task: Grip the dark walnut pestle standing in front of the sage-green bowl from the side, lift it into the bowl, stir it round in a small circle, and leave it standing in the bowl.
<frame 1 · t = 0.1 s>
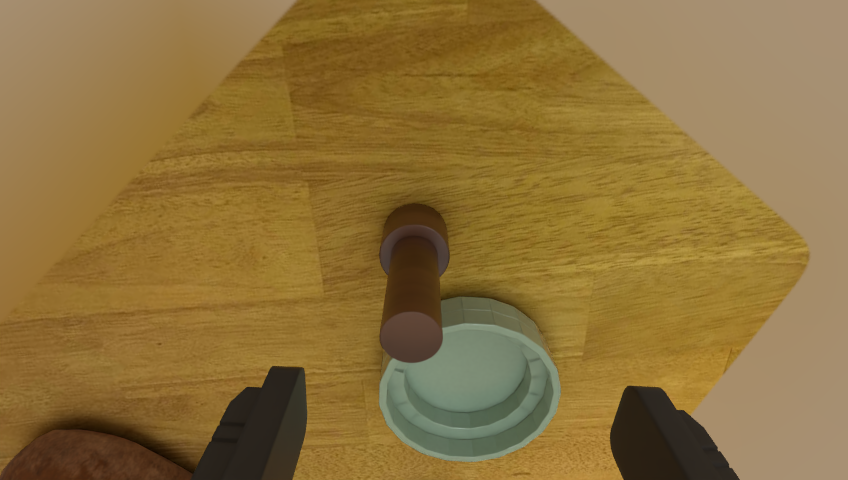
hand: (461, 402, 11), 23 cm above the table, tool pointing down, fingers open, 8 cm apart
pestle: (415, 232, 35), on the table
bowl: (464, 360, 40), on the table
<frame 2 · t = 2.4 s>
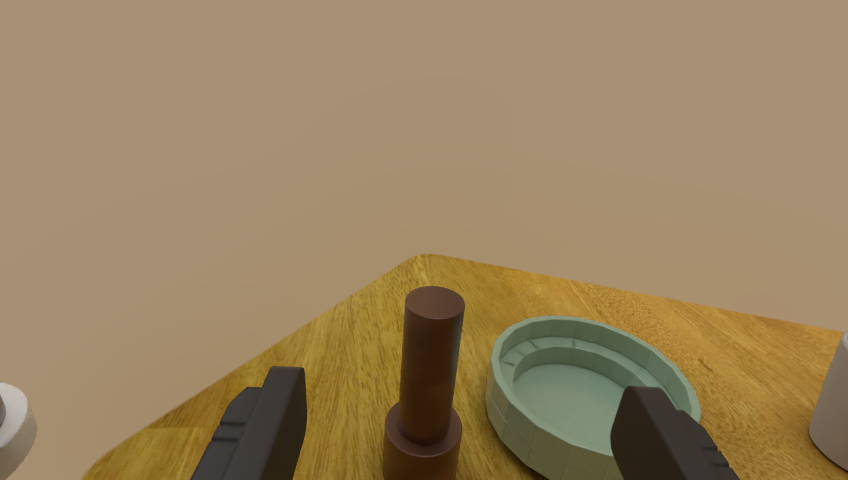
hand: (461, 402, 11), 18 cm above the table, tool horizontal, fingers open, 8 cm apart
pestle: (419, 468, 30), on the table
bowl: (577, 418, 35), on the table
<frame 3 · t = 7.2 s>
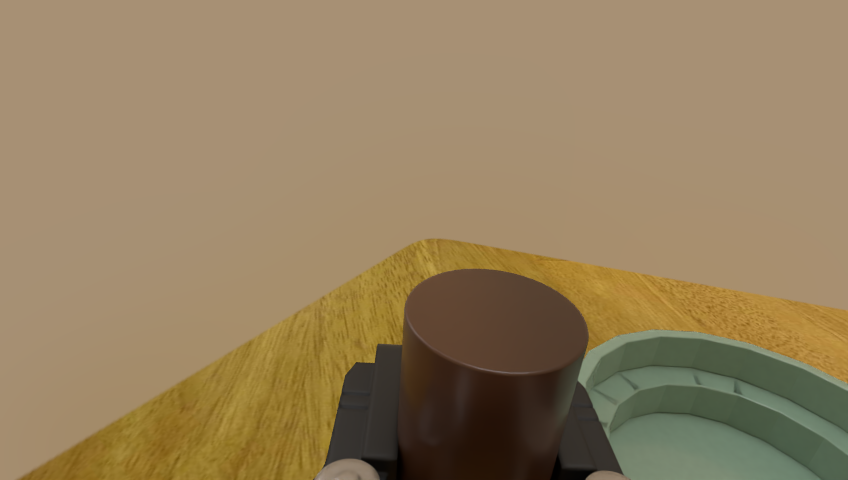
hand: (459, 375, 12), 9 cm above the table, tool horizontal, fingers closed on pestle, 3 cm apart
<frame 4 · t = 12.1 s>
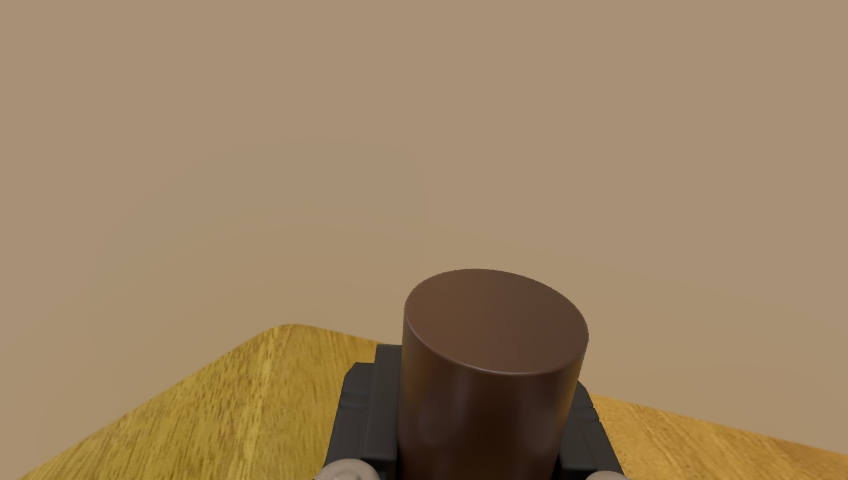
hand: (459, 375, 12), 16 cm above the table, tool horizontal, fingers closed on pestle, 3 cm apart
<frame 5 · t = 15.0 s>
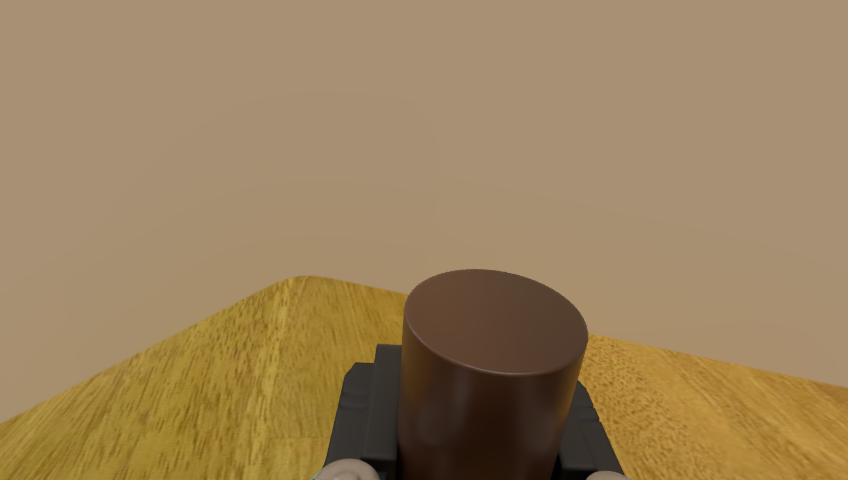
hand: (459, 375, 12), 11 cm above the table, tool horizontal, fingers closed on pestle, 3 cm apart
when the fingers open (10 cm above the table, at t = 16.9 s): pestle stays where it is, resting on bowl.
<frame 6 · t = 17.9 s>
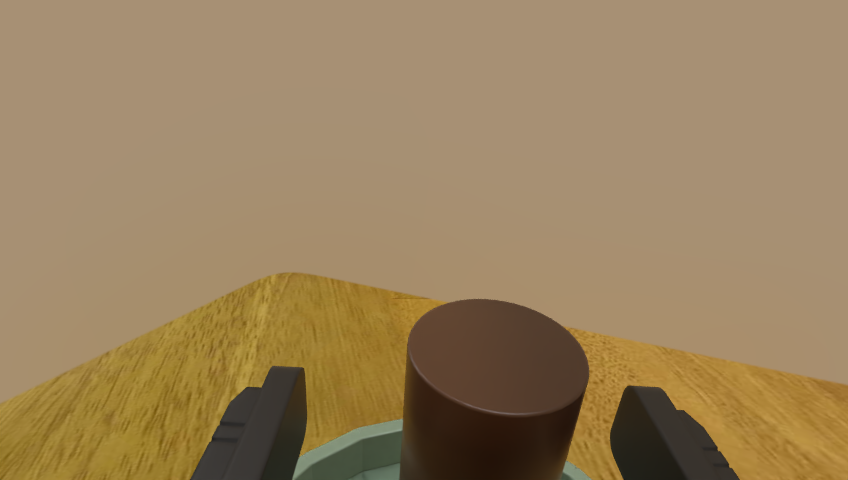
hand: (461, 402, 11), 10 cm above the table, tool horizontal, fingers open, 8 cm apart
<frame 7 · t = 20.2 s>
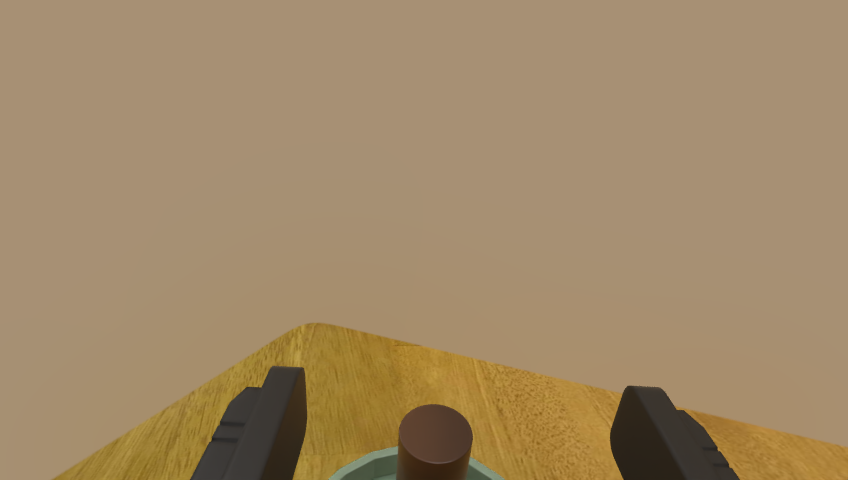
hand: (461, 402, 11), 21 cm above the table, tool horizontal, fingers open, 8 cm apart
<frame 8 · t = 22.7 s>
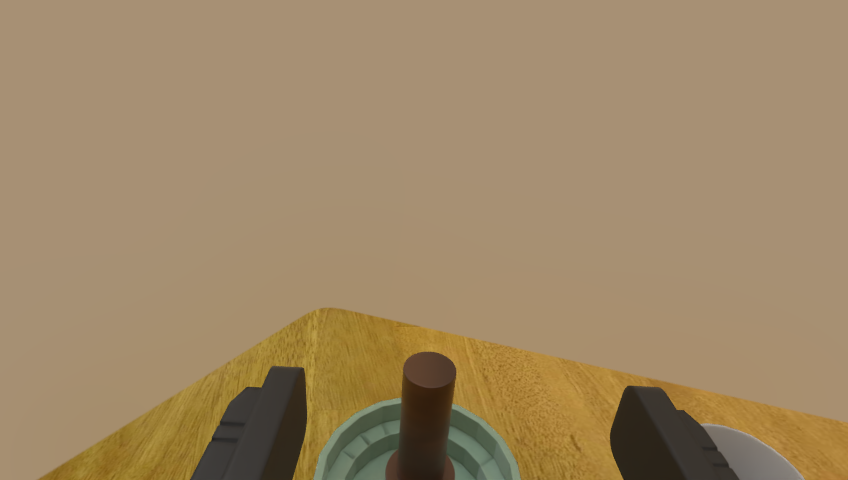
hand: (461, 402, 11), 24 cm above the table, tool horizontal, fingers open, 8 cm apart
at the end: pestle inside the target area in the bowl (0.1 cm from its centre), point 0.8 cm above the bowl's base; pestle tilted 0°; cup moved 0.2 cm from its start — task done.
